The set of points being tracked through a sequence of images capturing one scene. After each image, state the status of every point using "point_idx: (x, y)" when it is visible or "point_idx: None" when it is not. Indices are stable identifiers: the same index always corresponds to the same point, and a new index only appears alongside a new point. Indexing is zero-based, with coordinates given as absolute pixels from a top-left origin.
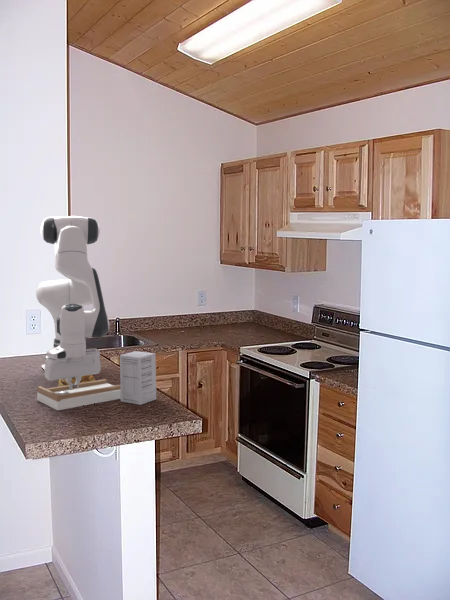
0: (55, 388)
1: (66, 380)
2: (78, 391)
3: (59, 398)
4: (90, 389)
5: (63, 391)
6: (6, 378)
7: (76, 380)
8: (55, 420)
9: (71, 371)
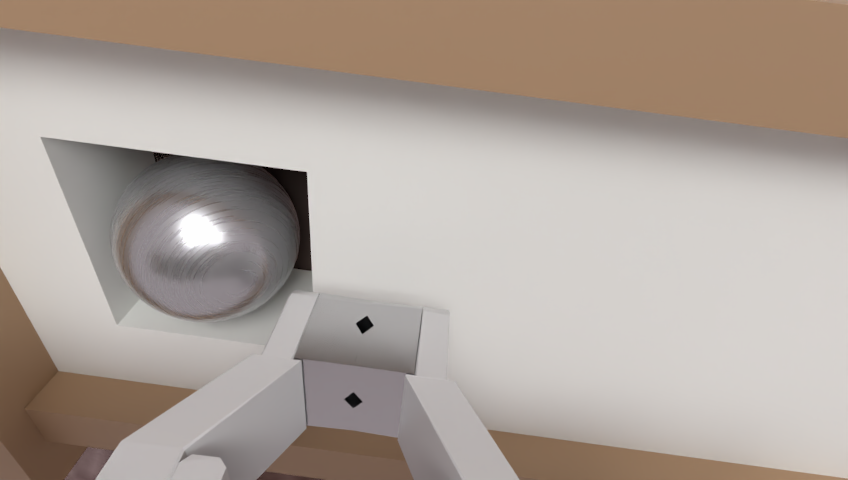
0: (48, 28)
1: (139, 459)
2: (461, 298)
3: (61, 463)
4: (674, 331)
5: (175, 301)
6: None
7: (436, 453)
8: (68, 473)
9: None
